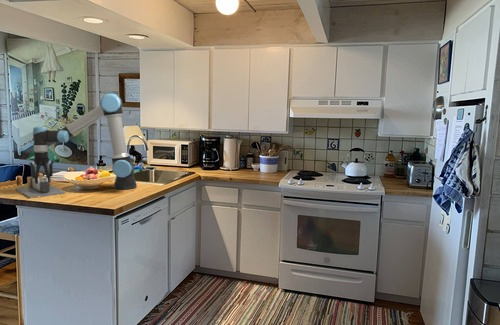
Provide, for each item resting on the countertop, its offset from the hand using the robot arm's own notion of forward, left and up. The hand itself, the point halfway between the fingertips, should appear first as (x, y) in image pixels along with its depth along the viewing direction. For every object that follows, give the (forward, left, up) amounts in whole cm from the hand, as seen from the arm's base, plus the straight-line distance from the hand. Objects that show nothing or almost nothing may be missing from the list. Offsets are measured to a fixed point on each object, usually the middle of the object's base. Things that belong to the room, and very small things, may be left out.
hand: (42, 188), depth 227 cm
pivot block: (+13, -9, -2) cm, 16 cm away
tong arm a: (+2, -3, -1) cm, 4 cm away
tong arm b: (+3, -1, -1) cm, 4 cm away
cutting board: (+5, -3, -3) cm, 7 cm away
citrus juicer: (+24, -26, -4) cm, 36 cm away
